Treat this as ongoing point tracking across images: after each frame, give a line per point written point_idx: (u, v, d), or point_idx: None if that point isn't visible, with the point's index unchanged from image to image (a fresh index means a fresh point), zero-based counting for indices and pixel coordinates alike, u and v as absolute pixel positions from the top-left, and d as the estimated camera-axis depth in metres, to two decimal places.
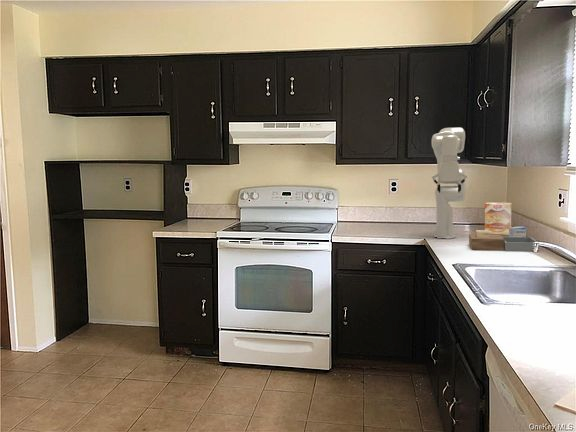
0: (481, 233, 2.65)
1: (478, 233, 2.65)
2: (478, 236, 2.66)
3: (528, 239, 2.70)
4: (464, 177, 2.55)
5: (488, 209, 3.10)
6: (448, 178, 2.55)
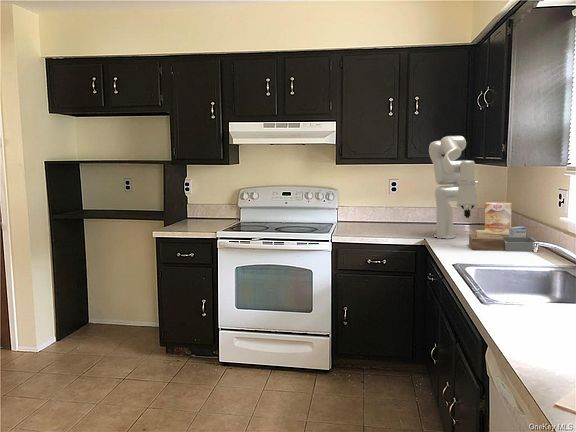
0: (481, 233, 2.65)
1: (478, 233, 2.65)
2: (478, 236, 2.66)
3: (528, 239, 2.70)
4: (475, 205, 2.66)
5: (488, 209, 3.10)
6: (466, 202, 2.66)
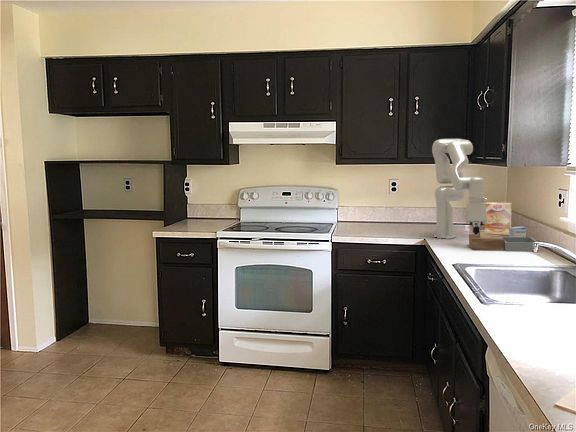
0: (484, 233, 2.65)
1: (481, 233, 2.65)
2: (481, 236, 2.65)
3: (528, 239, 2.70)
4: (484, 221, 2.66)
5: (488, 209, 3.10)
6: (475, 219, 2.66)
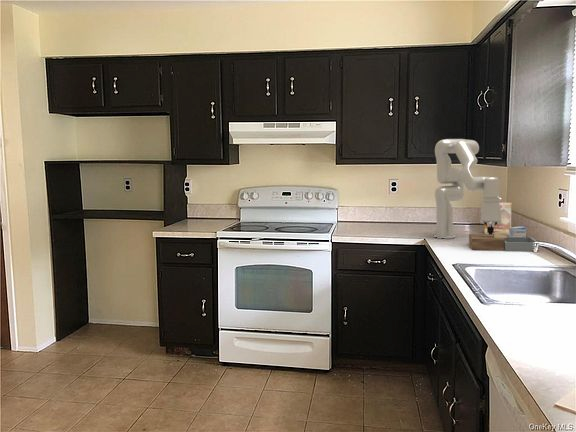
0: (498, 233, 2.62)
1: (495, 233, 2.63)
2: (495, 236, 2.63)
3: (528, 239, 2.70)
4: (499, 221, 2.64)
5: None
6: (490, 219, 2.64)
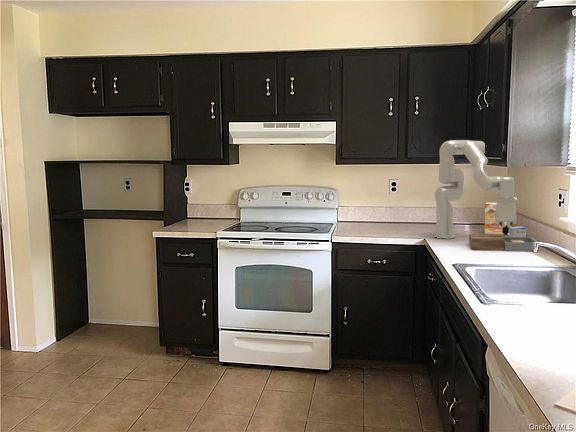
0: None
1: None
2: None
3: (528, 239, 2.70)
4: (514, 222, 2.62)
5: (488, 209, 3.10)
6: (505, 219, 2.62)
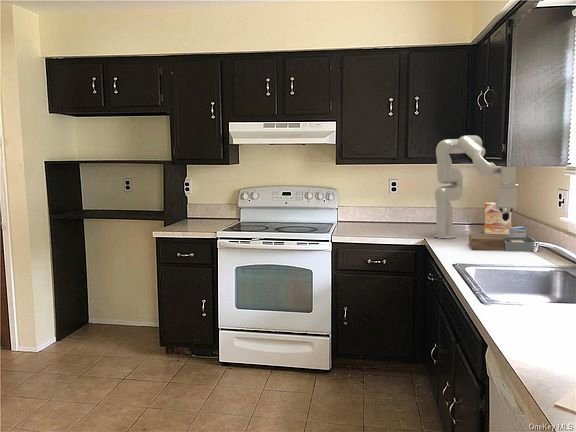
0: None
1: None
2: None
3: (528, 239, 2.70)
4: (514, 208, 2.62)
5: (488, 209, 3.10)
6: (505, 205, 2.62)
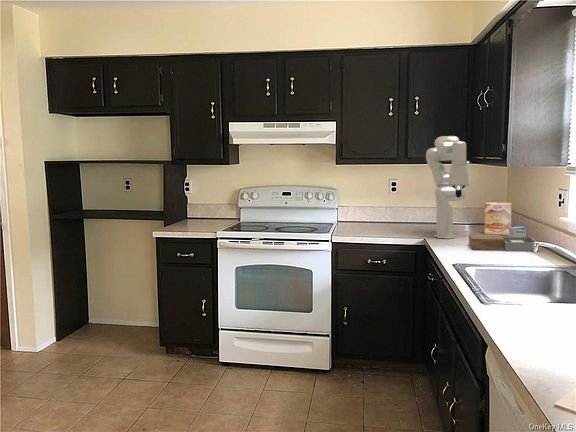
0: None
1: None
2: None
3: (528, 239, 2.70)
4: (466, 184, 2.73)
5: (488, 209, 3.10)
6: (458, 182, 2.72)
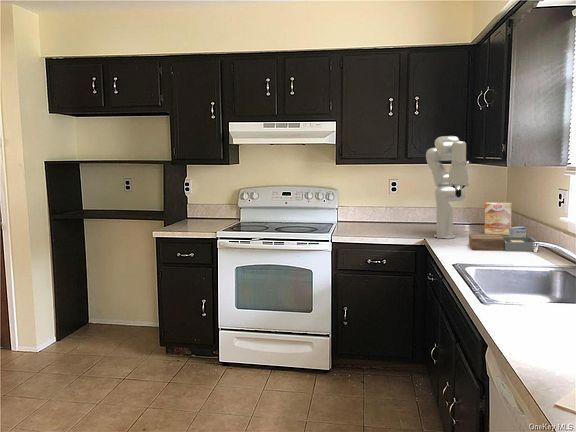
0: None
1: None
2: None
3: (528, 239, 2.70)
4: (466, 184, 2.73)
5: (488, 209, 3.10)
6: (458, 182, 2.73)
